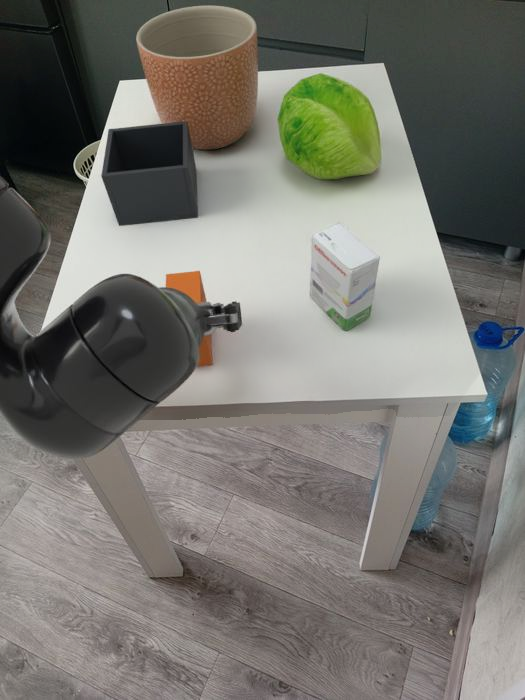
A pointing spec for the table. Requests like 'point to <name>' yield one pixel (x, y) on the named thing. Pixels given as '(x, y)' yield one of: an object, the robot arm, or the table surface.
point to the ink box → (343, 275)
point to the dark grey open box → (150, 173)
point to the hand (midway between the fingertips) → (181, 316)
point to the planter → (203, 71)
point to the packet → (194, 289)
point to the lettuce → (329, 128)
